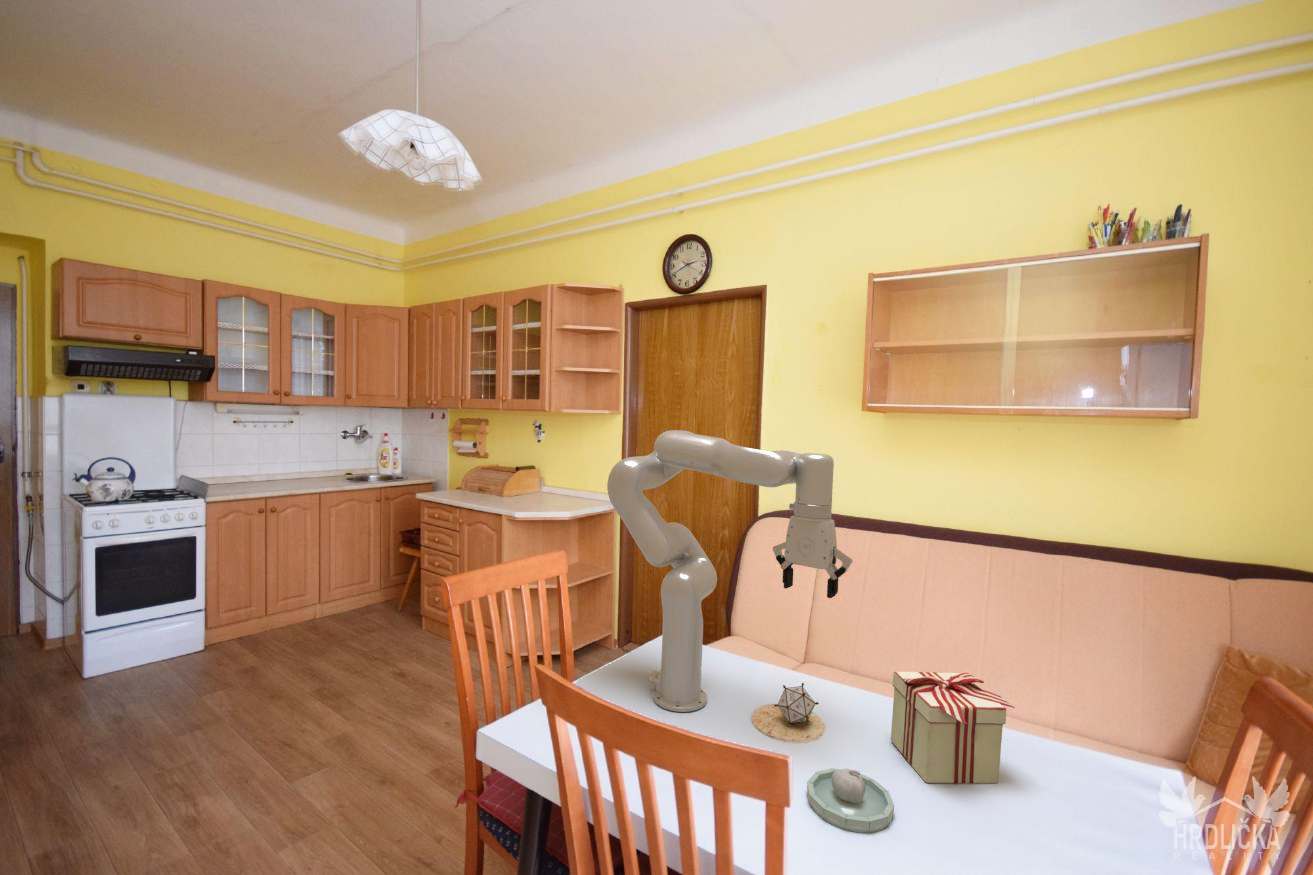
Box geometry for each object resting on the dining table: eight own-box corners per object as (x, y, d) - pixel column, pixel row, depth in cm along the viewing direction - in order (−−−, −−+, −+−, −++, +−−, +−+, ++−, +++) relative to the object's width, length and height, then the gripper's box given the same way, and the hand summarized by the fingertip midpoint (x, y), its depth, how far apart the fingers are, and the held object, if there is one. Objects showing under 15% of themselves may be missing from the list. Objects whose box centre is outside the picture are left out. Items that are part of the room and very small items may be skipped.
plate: (794, 806, 99) (794, 795, 99) (825, 770, 110) (825, 759, 110) (877, 845, 91) (878, 833, 91) (902, 801, 102) (903, 790, 102)
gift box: (939, 798, 103) (944, 703, 103) (883, 741, 121) (887, 660, 121) (1024, 793, 106) (1029, 700, 105) (957, 738, 124) (961, 658, 123)
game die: (802, 742, 126) (820, 720, 121) (766, 723, 128) (782, 701, 122) (809, 707, 134) (826, 684, 128) (774, 689, 135) (790, 666, 129)
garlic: (872, 800, 100) (873, 771, 100) (855, 813, 97) (857, 782, 96) (841, 783, 105) (842, 755, 105) (824, 795, 101) (825, 765, 101)
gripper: (767, 508, 125) (764, 587, 125) (847, 519, 114) (842, 605, 115) (783, 505, 131) (779, 580, 131) (859, 515, 120) (855, 596, 121)
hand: (809, 591), depth 123 cm, fingers open, 9 cm apart
